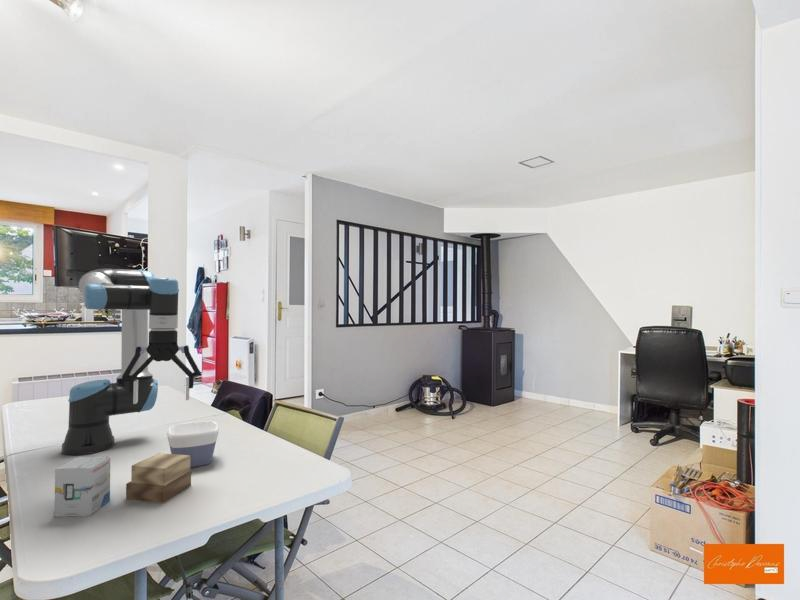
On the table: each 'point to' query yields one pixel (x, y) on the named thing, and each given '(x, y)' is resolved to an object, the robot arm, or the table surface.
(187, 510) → the table surface
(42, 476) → the table surface
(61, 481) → the ink box
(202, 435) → the bowl
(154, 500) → the tower base
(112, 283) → the robot arm
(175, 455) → the tower top
